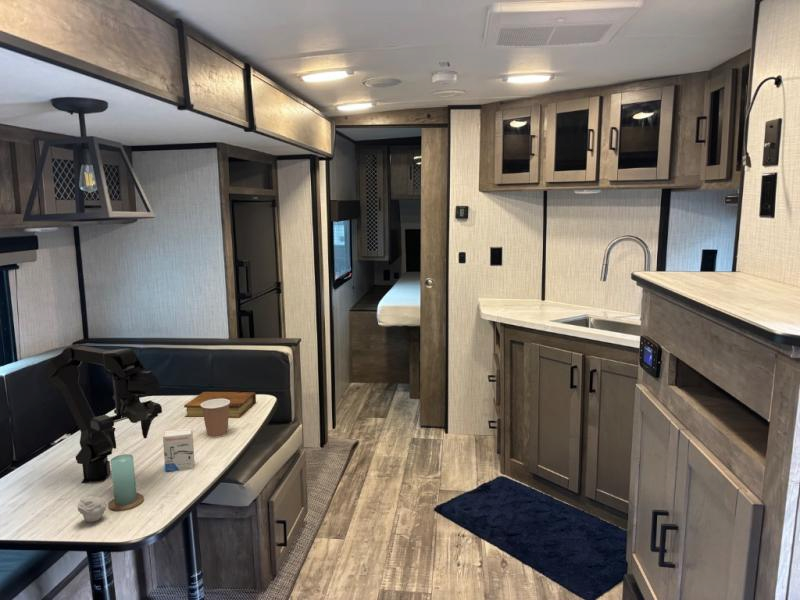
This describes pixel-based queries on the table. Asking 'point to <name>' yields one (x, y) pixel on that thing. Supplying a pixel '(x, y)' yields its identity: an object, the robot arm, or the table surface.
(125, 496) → the teal round cylinder
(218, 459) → the table surface
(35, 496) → the table surface
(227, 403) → the coffee cup
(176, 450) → the ink box
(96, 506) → the white sculpted piece
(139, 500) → the coaster
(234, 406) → the diary
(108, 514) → the table surface
